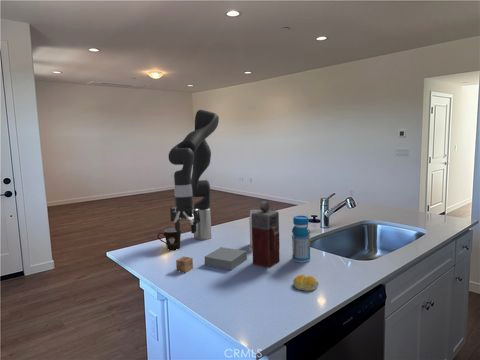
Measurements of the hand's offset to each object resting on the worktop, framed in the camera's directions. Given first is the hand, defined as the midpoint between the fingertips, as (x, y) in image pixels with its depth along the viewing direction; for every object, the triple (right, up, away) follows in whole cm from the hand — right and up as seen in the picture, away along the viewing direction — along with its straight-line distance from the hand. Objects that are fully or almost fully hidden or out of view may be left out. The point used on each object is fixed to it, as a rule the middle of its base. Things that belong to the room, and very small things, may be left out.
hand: (185, 231), depth 142 cm
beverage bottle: (+52, -14, +9) cm, 54 cm away
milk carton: (+33, -12, +30) cm, 46 cm away
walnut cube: (-1, -17, +1) cm, 17 cm away
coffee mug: (-13, -14, +31) cm, 36 cm away
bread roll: (+48, -18, -18) cm, 55 cm away
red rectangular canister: (+36, -15, +6) cm, 40 cm away
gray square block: (+17, -15, +9) cm, 25 cm away
